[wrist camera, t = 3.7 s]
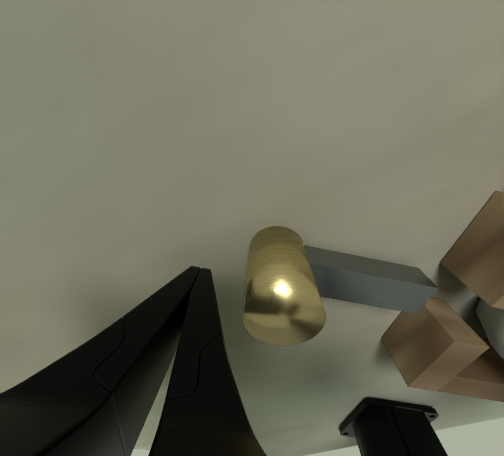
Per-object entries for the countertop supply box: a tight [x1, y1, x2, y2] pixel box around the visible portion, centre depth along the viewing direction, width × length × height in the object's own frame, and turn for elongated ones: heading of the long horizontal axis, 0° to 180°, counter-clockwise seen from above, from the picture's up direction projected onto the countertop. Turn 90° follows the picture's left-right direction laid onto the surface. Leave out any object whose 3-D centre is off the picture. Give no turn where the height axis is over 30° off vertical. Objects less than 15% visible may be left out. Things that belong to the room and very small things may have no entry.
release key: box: [243, 226, 438, 346], centre depth 10 cm, size 3×9×4 cm, turn 78°
